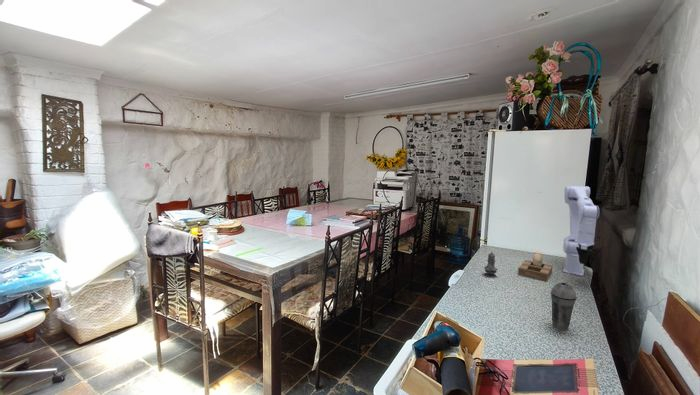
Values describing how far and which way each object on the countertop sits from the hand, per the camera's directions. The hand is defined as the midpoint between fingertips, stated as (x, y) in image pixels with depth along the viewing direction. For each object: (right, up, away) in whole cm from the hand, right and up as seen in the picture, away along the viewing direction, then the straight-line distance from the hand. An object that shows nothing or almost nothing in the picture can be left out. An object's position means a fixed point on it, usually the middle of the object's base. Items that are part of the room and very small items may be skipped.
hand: (583, 261), depth 137 cm
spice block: (-14, -9, +13) cm, 21 cm away
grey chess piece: (-37, -9, +11) cm, 40 cm away
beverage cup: (-34, -16, -33) cm, 50 cm away
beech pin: (-11, -7, +15) cm, 20 cm away
